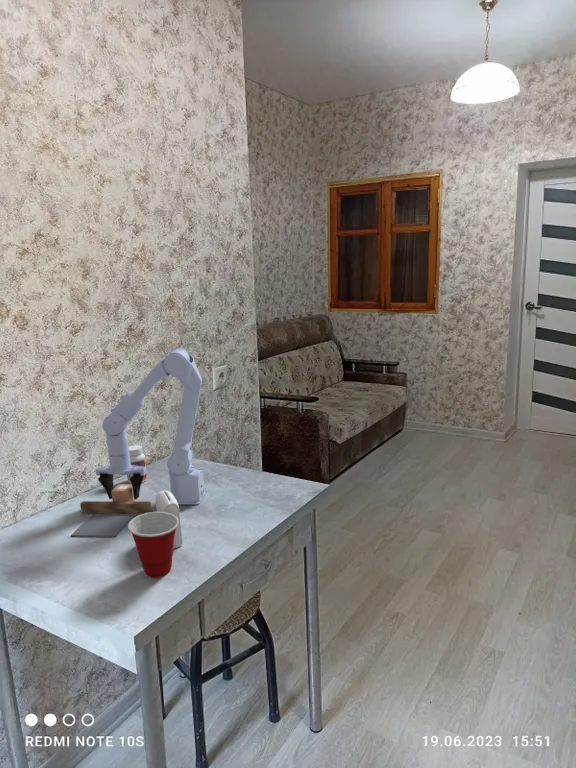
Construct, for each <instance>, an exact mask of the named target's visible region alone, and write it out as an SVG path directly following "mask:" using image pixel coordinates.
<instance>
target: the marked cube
mask: <svg viewBox="0 0 576 768" xmlns="http://www.w3.org/2000/svg"><path fill="white" fill-rule="evenodd" d="M111 493H112V499H111V500H112V501H137V500H138V498H137V499H134V495H133V487H132V484H131V483H129V484H128V483H127V484H125V483H124V484H121V483H120V484H119V483H118V484H117V485H116V486H115V487H114V489H113V490H112V491H111Z"/></svg>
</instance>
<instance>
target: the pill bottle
mask: <svg viewBox="0 0 576 768" xmlns="http://www.w3.org/2000/svg"><path fill="white" fill-rule="evenodd" d="M129 454H130V462H131V465H134V466H141V467H146V471H147V461H146V456H145V453H144V451H143V446H142V445H138V444H134V445H129ZM132 476H133V475H126V478H127V483H129V484H131V481H130V478H131V477H132ZM147 480H148V472H147V473H146V474H145V475H144V477H143V480H142V483H141V484H143V483H145V482H146V481H147Z"/></svg>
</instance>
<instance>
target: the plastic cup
mask: <svg viewBox="0 0 576 768" xmlns="http://www.w3.org/2000/svg"><path fill="white" fill-rule="evenodd" d="M178 524H179V520H178V518H177V517H176V516H175V515H173V514H170V513H167V512H157V511H151V512H150V513H145V514H137V516H135V517H133V518H132V519H131V520H130V521H129V522H128V523H127V526H128V530H129V531H130V533H131V536H132V538H133V542H134V543H135V547H136V549H137V554H138V557H139V561H140V563H141V565H142V568H143V573H145V575H146V576H147V577H149V578H160V577H164V576H166V575H168V573H170V572H171V571H172V566H173V556H174V555H173V554H174V548H173V547H174V536H175V531H176V527H177V526H178Z"/></svg>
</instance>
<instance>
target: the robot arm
mask: <svg viewBox="0 0 576 768" xmlns="http://www.w3.org/2000/svg"><path fill="white" fill-rule="evenodd" d="M195 361H196V360H195V358H194V356H193V355H191V353H189V351H188V350H187V349H185V348H183V347H177V348H173V349H172V350H170V352H169V353H168V354H166V356H165V357H164V358H162V359H161V360H160V361H159V362H157V364H156V365H154V366H153V368H151V370H150V371H149V373H148V374H147V375H146V376H145V378H144V379H143V380H142V382H141V383H140V384H139V385H138V386H137V388H135V390H133V391H131V390H130V391H127V392H126V393H123V394H122V395H121V396H120V400H119V401H118V403H117V404H116V405H115V407H112V408H111V409H110V410H109V411H110V413H109V414H108V415H107V416H105V417H104V419H103V421H102V430H103V431H104V433H105V434H106V444H107V445H106V446H107V453H108V460H109V461H108V462H109V465H105V466H97V467H96V468H95V476H99V477H98V478H97V480H98V482H99V484H101V486H103V488H104V490H105V492H106V494H107V496H108V500H112V493H111V491H112V490H113V489H114V488H115V487H114V475H120V476H121V475H122V476H124V475H125V476H127V475H133V476H132V477H131V478H130V481H131V483H130V484H132V487H133V495H134V499H137V500H138V498H139V497H140V490H141V486H142V484H143V483H142V480H143V477H144V475H145V474H146V473H147V474H148V472H147V471H146V469H147V466H146V467H141V466H134V465H131V462H130V454H129V446H130V445H129V439H128V432H127V431H128V430H127V426H128V425H129V422H132V419H134V418H135V416H136V415H137V414H138V413H139V411H140V410H141V409H142V408H143V407H144V406H145V399H144V398H145V397H146V396H147V394H149V392H150V391H151V390H152V389H153V388H154V386H156V384H157V383H158V382H159V381H160V380H161V379H165V378H169V376H172V377H173V378H175V379H177V380H178V381H179V382H180V384H182V386H183V392H182V399H181V404H180V410H179V417H178V422H177V423H178V424H177V429H176V435H175V441H174V443H173V444H174V445H173V447H172V451H171V454H170V456H169V457H168V459H167V462H166V465H167V468H168V469H167V470H168V473H169V474H168V475H169V484H170V493H172V494H173V496H174V497H175V499H176V500H177V503H178V505H199V504H200V503H201V502H202V500H203V499H204V497H205V496H206V494H207V492H206V488H205V475H204V472H203V470H200V469H196V468H195V466H194V464H193V463H192V462H191V461H192V459H193V457H194V451H193V448H192V446H193V436H194V429H195V425H196V424H195V423H196V419H197V412H198V407H199V401H200V396H201V389H202V383H203V378H202V375H201V373H200V372H199V369H198V366H197V364H196V362H195Z"/></svg>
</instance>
